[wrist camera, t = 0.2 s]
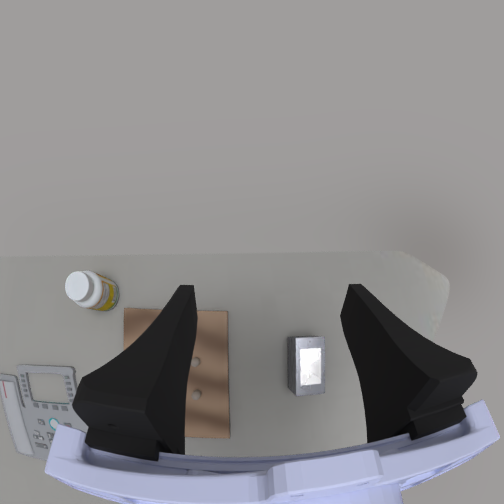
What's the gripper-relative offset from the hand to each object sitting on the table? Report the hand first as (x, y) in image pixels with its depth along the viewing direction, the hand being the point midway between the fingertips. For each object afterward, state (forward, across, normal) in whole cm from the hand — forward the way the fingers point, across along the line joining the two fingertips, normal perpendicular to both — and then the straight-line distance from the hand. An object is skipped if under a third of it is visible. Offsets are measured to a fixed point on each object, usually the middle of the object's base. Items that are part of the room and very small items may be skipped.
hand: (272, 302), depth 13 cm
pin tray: (+15, +11, +28) cm, 34 cm away
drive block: (+16, -8, +27) cm, 33 cm away
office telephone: (+6, +38, +37) cm, 53 cm away
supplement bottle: (+23, +23, +20) cm, 38 cm away
